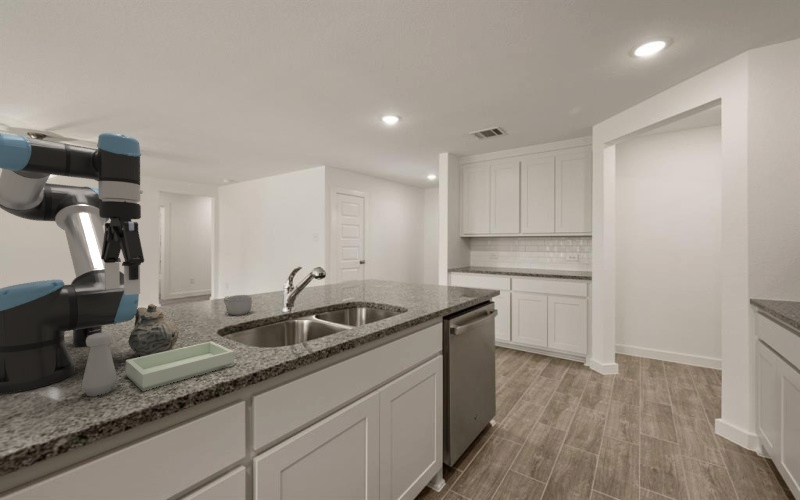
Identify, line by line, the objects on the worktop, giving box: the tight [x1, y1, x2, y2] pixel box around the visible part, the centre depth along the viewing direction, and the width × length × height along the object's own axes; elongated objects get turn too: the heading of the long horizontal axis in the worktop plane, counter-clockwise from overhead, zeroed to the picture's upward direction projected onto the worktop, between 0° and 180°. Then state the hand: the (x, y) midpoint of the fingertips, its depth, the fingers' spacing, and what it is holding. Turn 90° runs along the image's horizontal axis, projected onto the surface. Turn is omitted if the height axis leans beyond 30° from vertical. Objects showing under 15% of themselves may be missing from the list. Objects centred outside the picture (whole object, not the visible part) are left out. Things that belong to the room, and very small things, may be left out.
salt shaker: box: [81, 332, 118, 397], centre depth 73 cm, size 6×6×13 cm
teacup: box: [223, 294, 253, 317], centre depth 150 cm, size 14×11×8 cm
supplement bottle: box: [72, 326, 103, 347], centre depth 106 cm, size 7×7×12 cm
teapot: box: [128, 303, 179, 357], centre depth 96 cm, size 21×12×15 cm, turn 59°
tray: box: [125, 340, 235, 392], centre depth 85 cm, size 20×14×4 cm
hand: (121, 291), depth 78 cm, fingers open, 13 cm apart
